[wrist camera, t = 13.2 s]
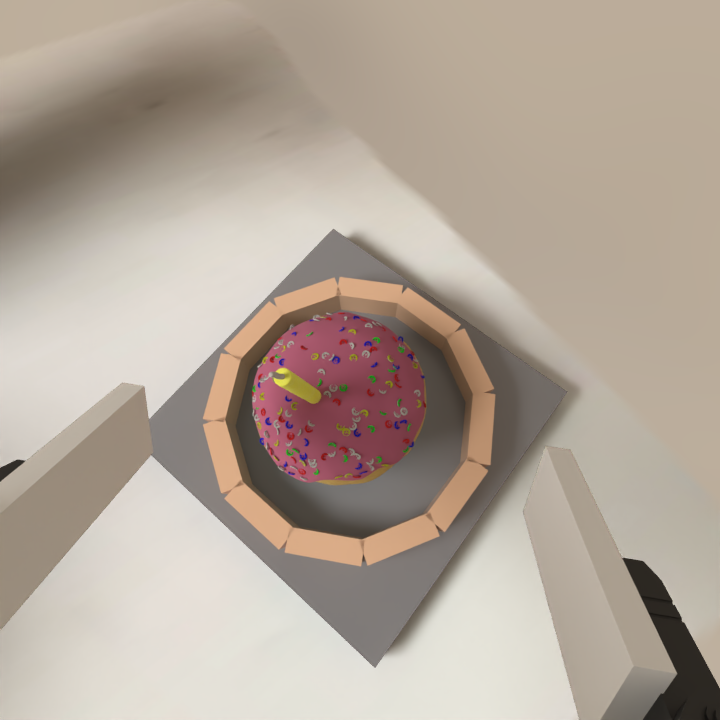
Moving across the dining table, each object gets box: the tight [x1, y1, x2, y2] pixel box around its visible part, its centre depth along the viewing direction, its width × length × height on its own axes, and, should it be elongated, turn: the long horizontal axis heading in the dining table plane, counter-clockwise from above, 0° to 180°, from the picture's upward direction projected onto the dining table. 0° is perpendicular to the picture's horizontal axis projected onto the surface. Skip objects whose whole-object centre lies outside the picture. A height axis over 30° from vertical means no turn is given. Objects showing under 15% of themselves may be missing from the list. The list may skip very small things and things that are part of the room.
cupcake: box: [252, 312, 426, 485], centre depth 21 cm, size 9×8×12 cm
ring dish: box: [149, 229, 567, 667], centre depth 26 cm, size 18×18×4 cm
